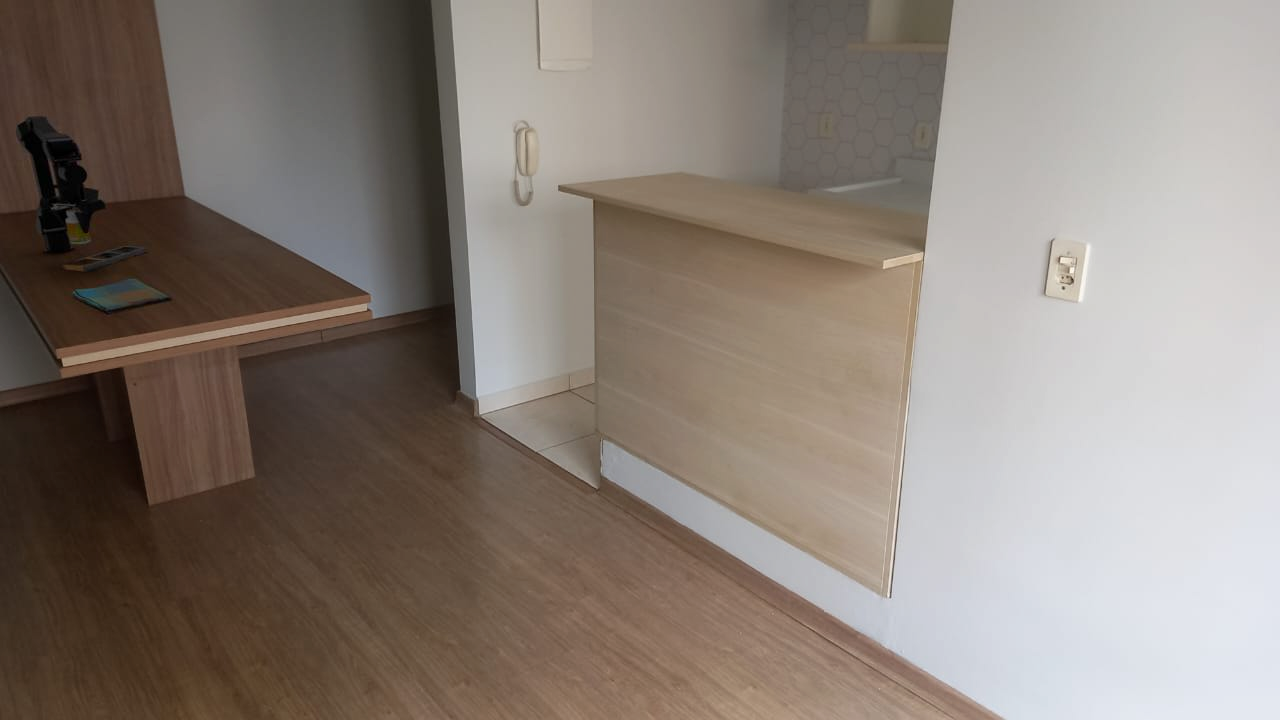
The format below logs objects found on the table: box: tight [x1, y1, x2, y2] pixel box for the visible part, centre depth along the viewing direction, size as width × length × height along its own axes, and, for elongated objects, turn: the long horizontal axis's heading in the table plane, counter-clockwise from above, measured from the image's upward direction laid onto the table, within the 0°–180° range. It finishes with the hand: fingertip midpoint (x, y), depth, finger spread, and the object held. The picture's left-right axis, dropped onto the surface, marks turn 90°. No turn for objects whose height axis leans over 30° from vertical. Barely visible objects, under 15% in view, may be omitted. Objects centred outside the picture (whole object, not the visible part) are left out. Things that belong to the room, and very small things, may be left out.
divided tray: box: [61, 245, 149, 273], centre depth 281 cm, size 9×24×2 cm, turn 164°
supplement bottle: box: [66, 208, 92, 245], centre depth 270 cm, size 5×5×10 cm
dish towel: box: [72, 278, 173, 314], centre depth 245 cm, size 17×23×2 cm
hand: (78, 232), depth 270 cm, fingers closed on supplement bottle, 5 cm apart
